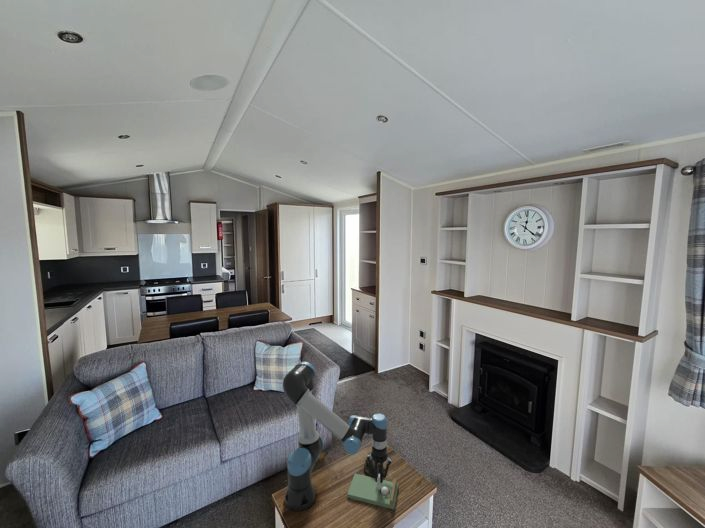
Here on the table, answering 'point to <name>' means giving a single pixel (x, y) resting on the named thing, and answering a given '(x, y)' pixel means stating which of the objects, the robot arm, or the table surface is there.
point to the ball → (384, 491)
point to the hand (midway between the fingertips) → (379, 487)
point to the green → (372, 491)
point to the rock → (367, 467)
